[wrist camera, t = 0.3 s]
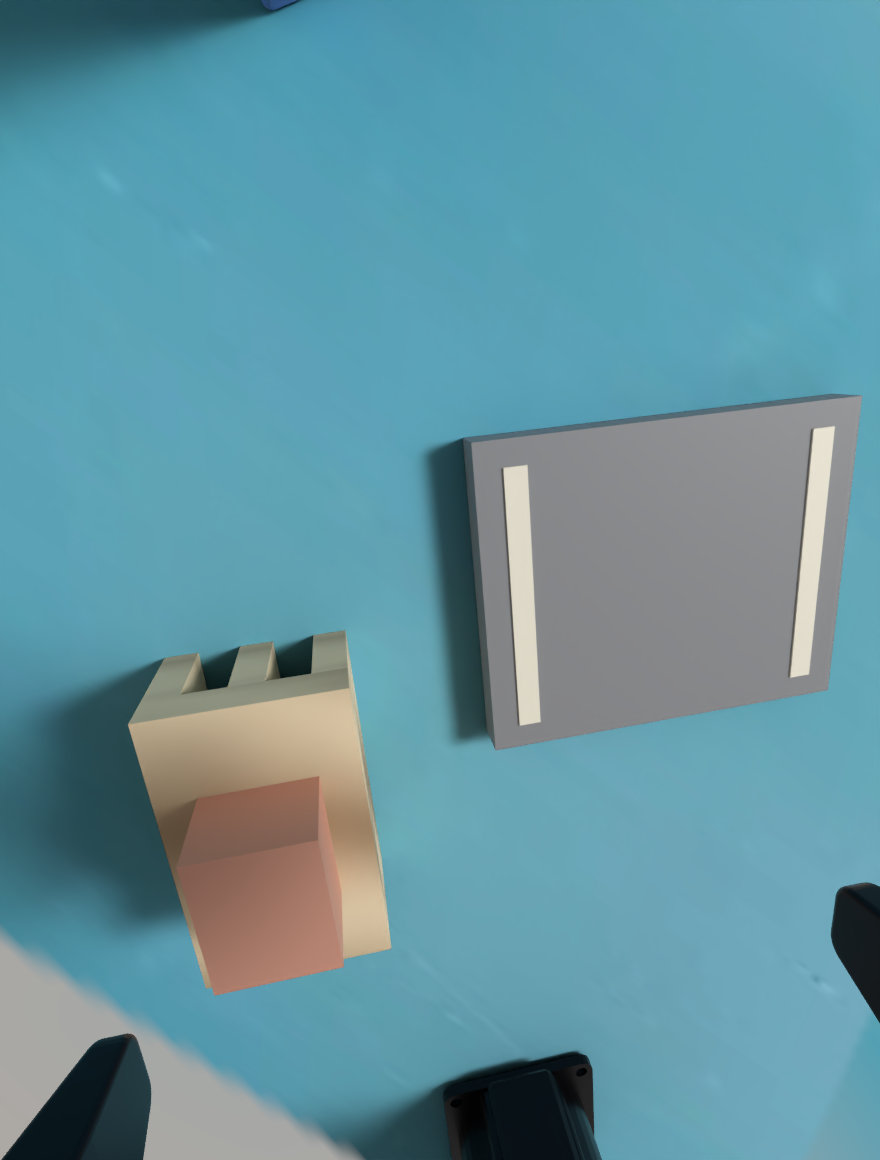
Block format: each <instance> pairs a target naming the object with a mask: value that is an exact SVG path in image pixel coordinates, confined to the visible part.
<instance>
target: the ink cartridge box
mask: <svg viewBox="0 0 880 1160" xmlns="http://www.w3.org/2000/svg"><path fill="white" fill-rule="evenodd" d="M261 1H262V3H263V5H264V6H265V7H266V8H267V9H270V10H276V9H278V8H280V7H283V6H285V5H288V4H290V3H292V2H295V1H297V0H261Z"/></svg>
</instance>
